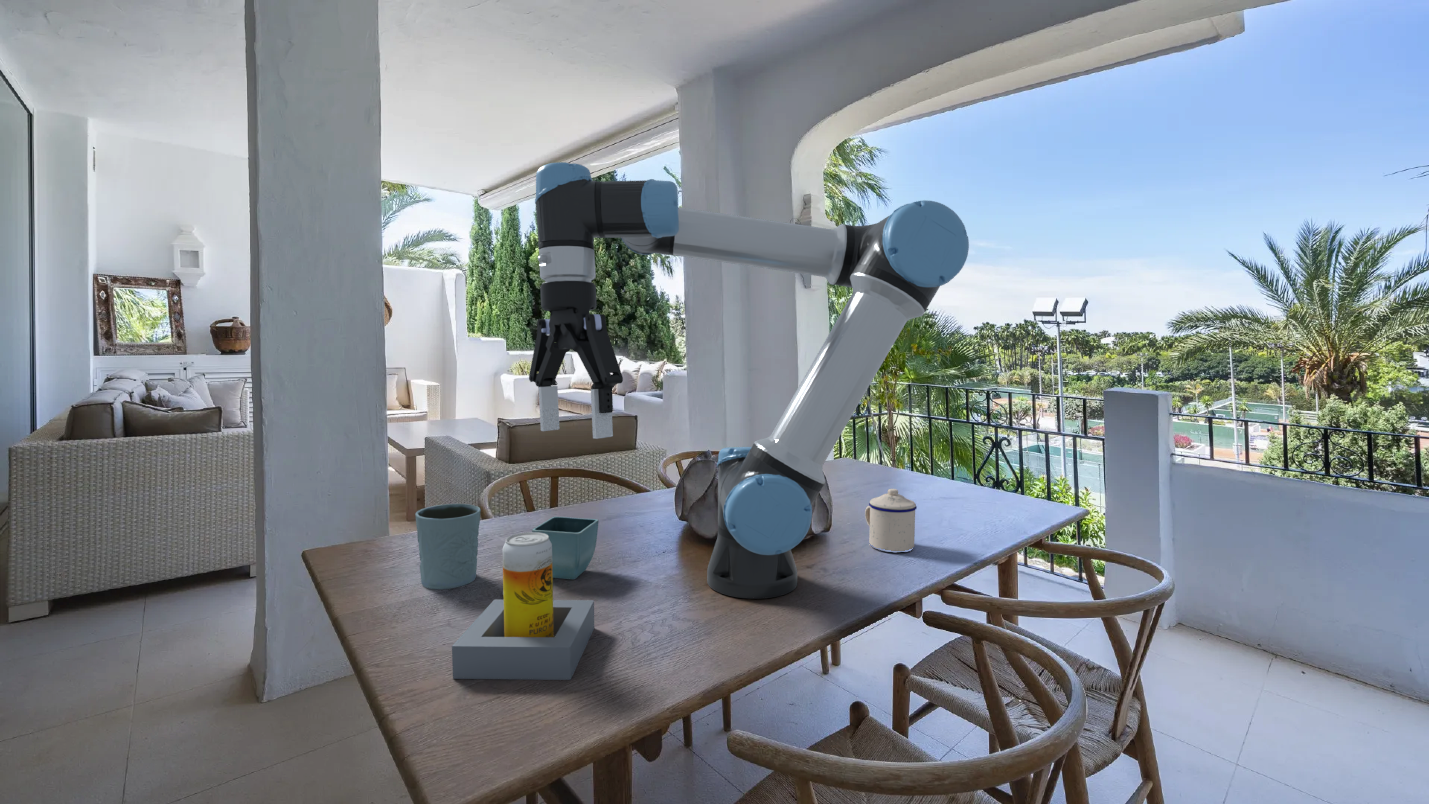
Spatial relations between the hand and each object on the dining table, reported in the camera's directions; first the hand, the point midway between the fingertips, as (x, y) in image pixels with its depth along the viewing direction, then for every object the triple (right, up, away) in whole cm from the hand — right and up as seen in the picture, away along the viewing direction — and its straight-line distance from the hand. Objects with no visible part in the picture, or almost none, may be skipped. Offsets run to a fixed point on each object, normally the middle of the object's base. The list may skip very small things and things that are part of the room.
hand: (575, 433), depth 89 cm
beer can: (-4, -28, -8) cm, 29 cm away
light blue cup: (-25, -26, +18) cm, 40 cm away
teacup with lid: (+54, -25, +38) cm, 70 cm away
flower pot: (-6, -26, +20) cm, 33 cm away
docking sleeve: (-4, -28, -8) cm, 29 cm away
